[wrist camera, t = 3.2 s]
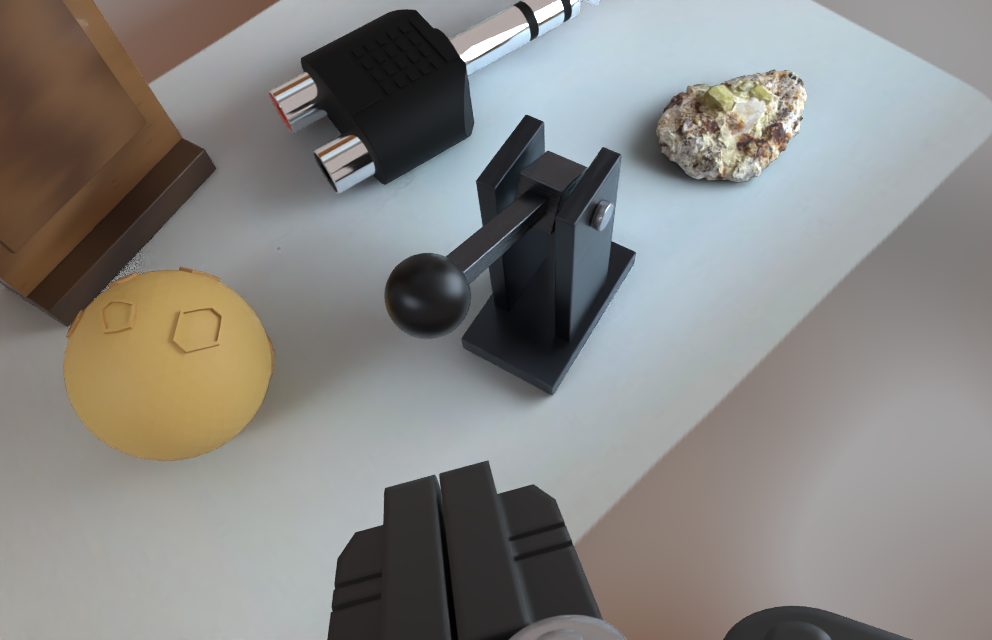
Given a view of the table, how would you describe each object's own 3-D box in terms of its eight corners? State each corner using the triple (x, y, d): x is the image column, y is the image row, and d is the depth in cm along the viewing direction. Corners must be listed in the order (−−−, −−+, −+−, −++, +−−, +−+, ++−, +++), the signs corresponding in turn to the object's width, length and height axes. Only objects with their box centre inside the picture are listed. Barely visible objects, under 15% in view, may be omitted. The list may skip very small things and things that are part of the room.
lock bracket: (552, 396, 42) (552, 280, 31) (463, 347, 44) (431, 221, 33) (634, 262, 46) (660, 115, 34) (548, 223, 48) (546, 70, 36)
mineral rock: (710, 193, 45) (644, 83, 46) (686, 220, 49) (625, 119, 51) (853, 124, 47) (785, 21, 48) (818, 156, 51) (756, 60, 53)
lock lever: (434, 369, 28) (444, 303, 26) (364, 330, 29) (369, 263, 26) (584, 221, 37) (600, 163, 35) (527, 195, 38) (540, 138, 36)
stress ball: (307, 453, 42) (241, 383, 33) (131, 506, 41) (14, 450, 32) (280, 302, 46) (215, 206, 37) (121, 348, 46) (16, 260, 37)
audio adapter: (251, 61, 48) (564, -99, 54) (278, 119, 53) (563, -34, 58) (332, 169, 44) (665, -17, 49) (353, 222, 49) (655, 46, 54)
